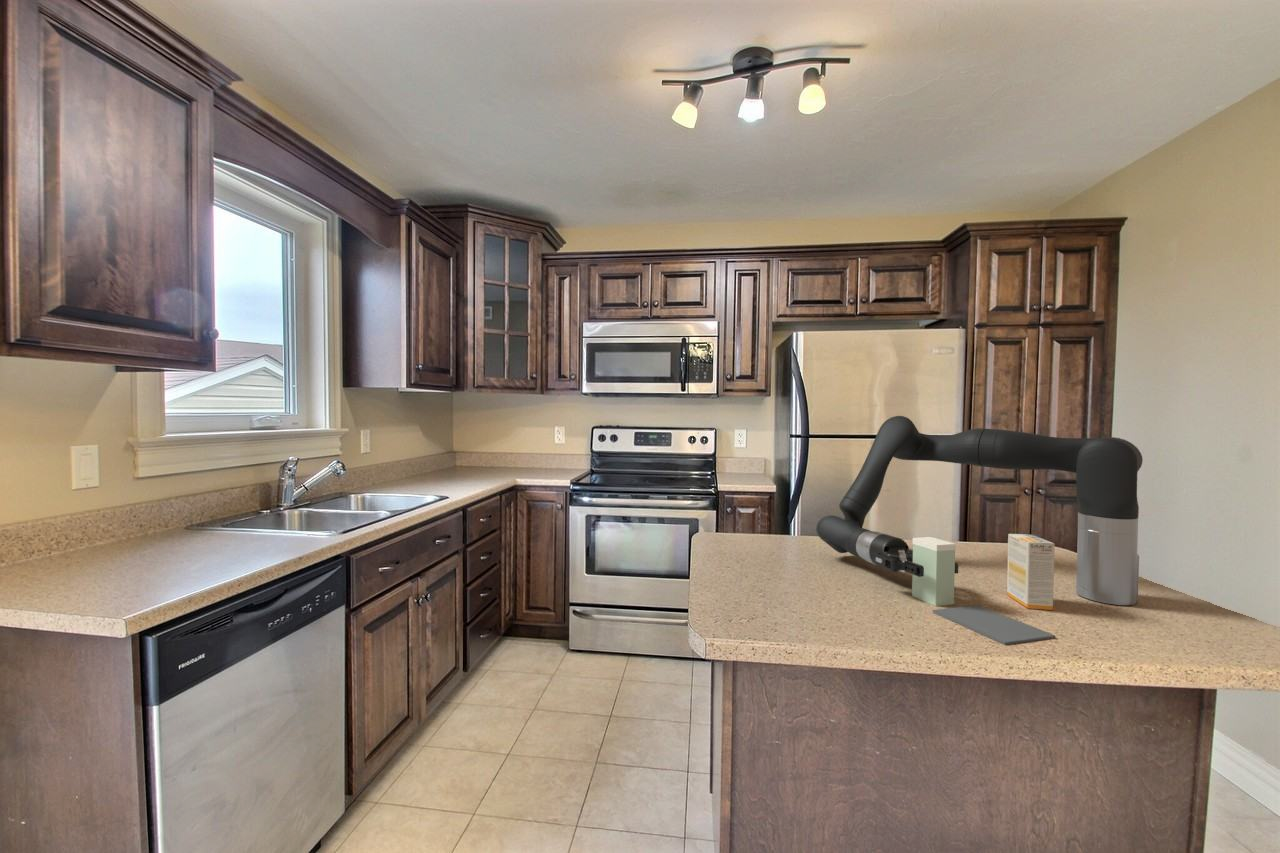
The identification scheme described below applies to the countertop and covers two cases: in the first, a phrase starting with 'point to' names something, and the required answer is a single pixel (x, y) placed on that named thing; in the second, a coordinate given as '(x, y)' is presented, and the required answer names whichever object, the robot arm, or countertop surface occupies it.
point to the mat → (993, 624)
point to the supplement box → (1030, 571)
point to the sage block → (934, 570)
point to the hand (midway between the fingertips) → (939, 570)
